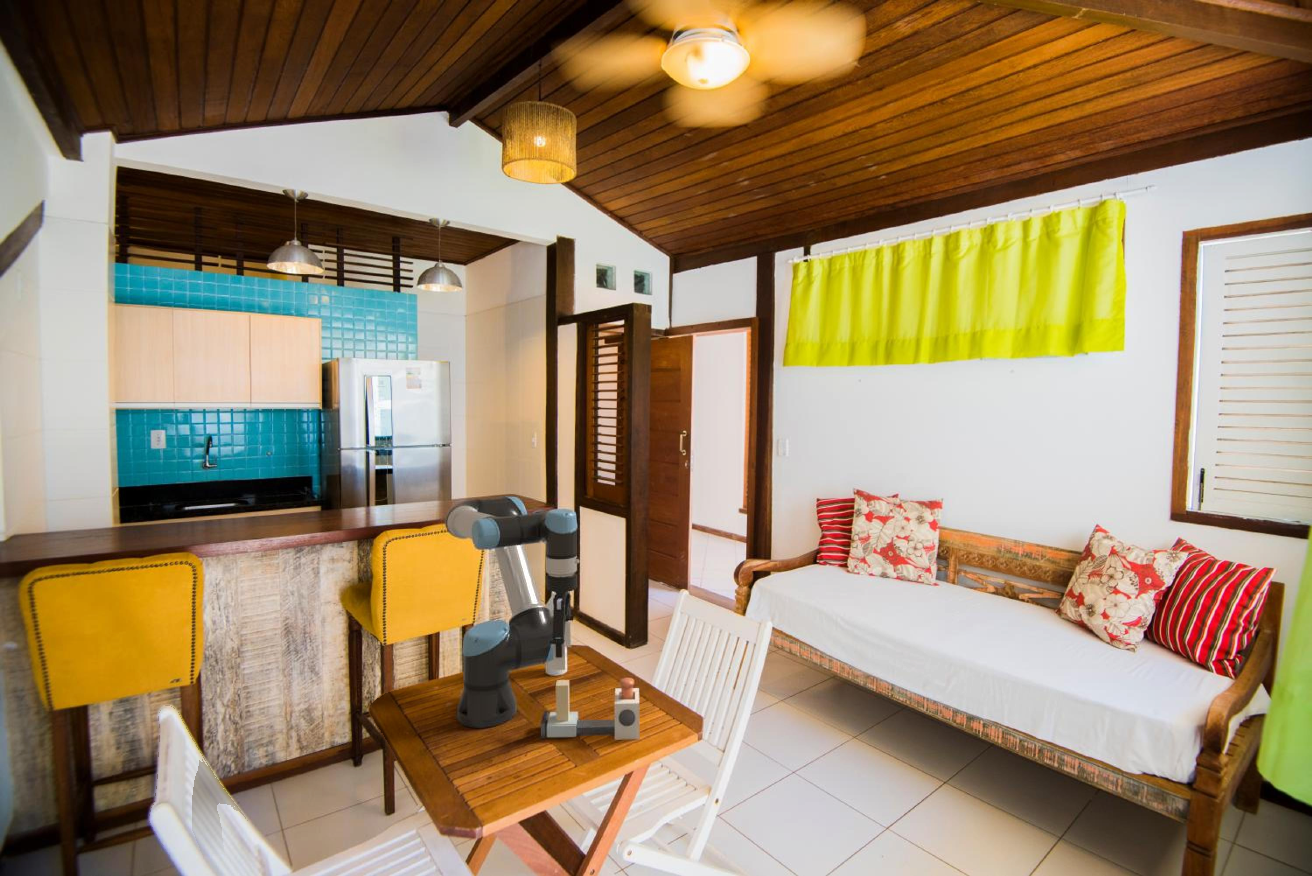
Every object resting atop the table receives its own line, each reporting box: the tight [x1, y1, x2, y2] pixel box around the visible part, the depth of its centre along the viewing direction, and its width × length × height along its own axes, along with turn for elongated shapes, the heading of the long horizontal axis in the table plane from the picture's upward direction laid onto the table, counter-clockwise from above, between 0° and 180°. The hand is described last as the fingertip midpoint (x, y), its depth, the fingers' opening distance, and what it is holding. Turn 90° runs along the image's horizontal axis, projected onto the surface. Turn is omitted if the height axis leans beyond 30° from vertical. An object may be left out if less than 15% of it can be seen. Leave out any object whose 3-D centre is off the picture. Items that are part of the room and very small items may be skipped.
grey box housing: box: [614, 687, 640, 741], centre depth 154 cm, size 6×8×9 cm
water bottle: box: [544, 592, 568, 677], centre depth 187 cm, size 9×6×25 cm
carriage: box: [546, 679, 579, 738], centre depth 153 cm, size 7×7×12 cm
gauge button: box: [619, 677, 635, 700], centre depth 154 cm, size 4×4×6 cm
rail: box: [540, 710, 615, 740], centre depth 154 cm, size 19×6×4 cm, turn 92°
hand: (562, 657), depth 153 cm, fingers open, 13 cm apart
